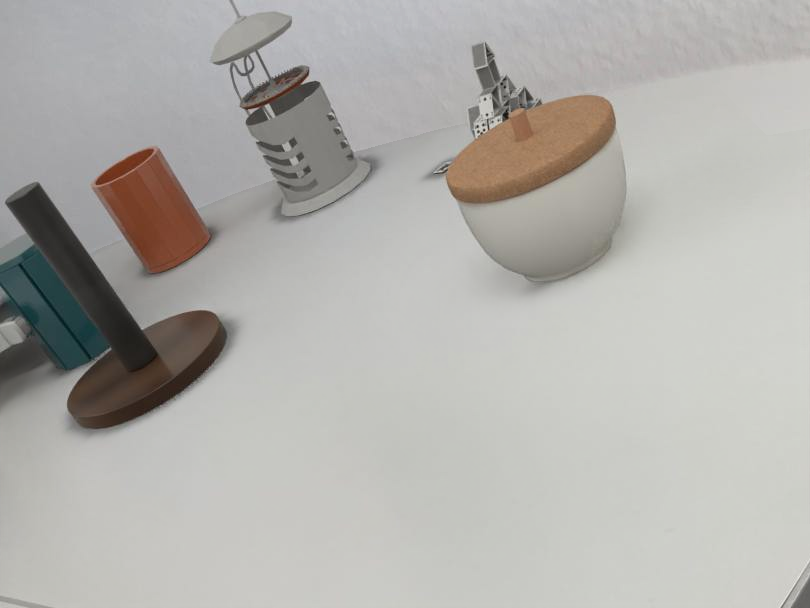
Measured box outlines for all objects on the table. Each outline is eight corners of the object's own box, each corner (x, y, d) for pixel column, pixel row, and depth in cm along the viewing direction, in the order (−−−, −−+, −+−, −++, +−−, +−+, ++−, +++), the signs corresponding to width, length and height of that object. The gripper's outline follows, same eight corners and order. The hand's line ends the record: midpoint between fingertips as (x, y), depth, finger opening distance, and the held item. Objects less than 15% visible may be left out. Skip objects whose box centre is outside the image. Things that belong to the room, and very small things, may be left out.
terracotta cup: (135, 272, 101) (79, 188, 95) (188, 232, 104) (136, 147, 98) (168, 275, 96) (111, 186, 90) (223, 232, 99) (171, 143, 93)
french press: (310, 220, 91) (147, -91, 74) (256, 212, 99) (99, -69, 83) (389, 162, 93) (248, -151, 77) (330, 159, 101) (192, -124, 85)
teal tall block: (48, 366, 91) (-29, 268, 85) (100, 325, 94) (29, 227, 87) (75, 373, 87) (-4, 271, 81) (130, 330, 89) (57, 227, 83)
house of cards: (469, 127, 91) (435, 39, 86) (553, 103, 86) (523, 8, 81) (431, 176, 86) (392, 85, 81) (518, 152, 81) (483, 55, 76)
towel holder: (51, 415, 82) (-89, 246, 72) (175, 317, 87) (60, 144, 77) (122, 441, 73) (-27, 249, 63) (257, 329, 77) (138, 133, 67)
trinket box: (606, 196, 69) (563, 55, 62) (676, 238, 60) (633, 80, 54) (471, 272, 69) (414, 139, 63) (522, 324, 61) (462, 176, 55)
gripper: (-144, 361, 85) (-46, 334, 78) (-3, 239, 97) (93, 206, 90) (-89, 420, 89) (9, 399, 82) (40, 295, 101) (135, 268, 94)
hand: (54, 297), depth 86 cm, fingers open, 8 cm apart
